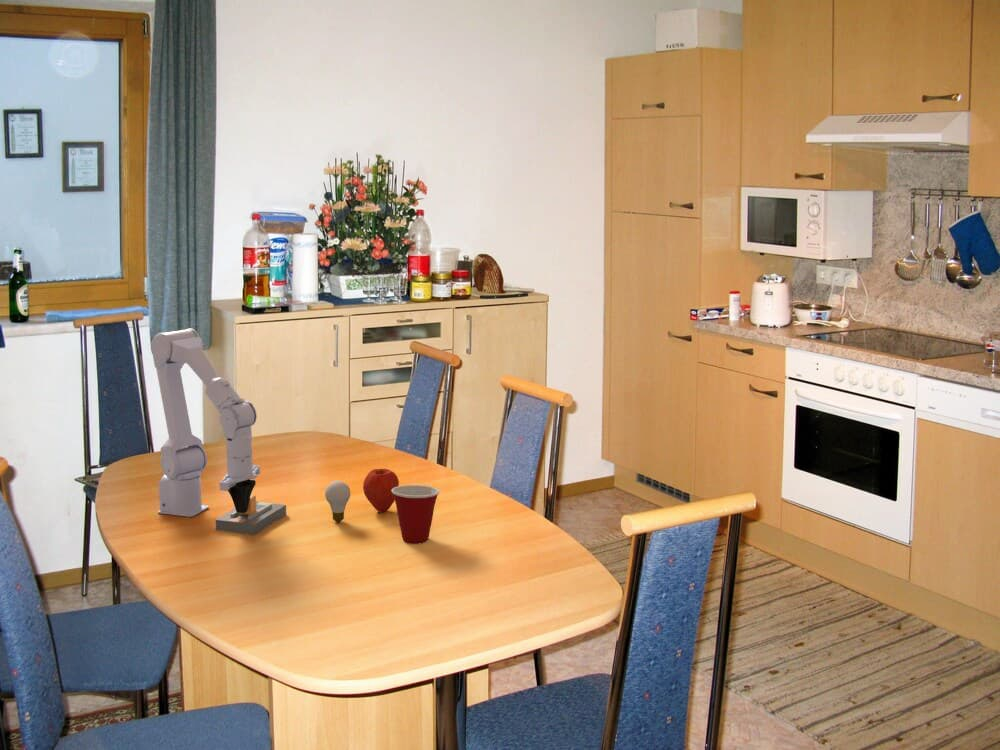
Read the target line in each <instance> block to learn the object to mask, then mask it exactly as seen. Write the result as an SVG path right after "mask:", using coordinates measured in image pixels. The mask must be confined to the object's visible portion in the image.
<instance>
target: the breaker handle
mask: <svg viewBox="0 0 1000 750" xmlns="http://www.w3.org/2000/svg"><path fill="white" fill-rule="evenodd" d="M256 497H257V496H256V495H255V494H251V496H250V499H249V504H248V509H247V512H245V513H240V514H248V515H251V514H252V513H254V512H256V501H257V498H256Z"/></svg>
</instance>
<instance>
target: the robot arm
mask: <svg viewBox="0 0 1000 750" xmlns="http://www.w3.org/2000/svg"><path fill="white" fill-rule="evenodd" d="M203 346H204V345H203V339H202V338H201V337H200V335H199V333H198V332H197V330H196V329H194V328H186V329H181V330H175V331H169V332H168V331H167V332H158V333H156V334H155V336H153V339H152V340H151V342H150V347H151V354H152V358H153V359H152V360H153V364H154V368H155V369H156V374H157V379H158V384H159V391H160V396H161V402H162V408H163V412H164V419H165V423H166V428H167V434H168V439H167V440H166V441H165V442H164V444H162V446H161V447H160V452H161V453H160V454H161V455H160V456H161V457H160V468H161V471H162V472H163V475H162V476H161V478H160V480H159V482H158V483H159V484H158V498H159V501H158V502H159V510H158V511H157V513H158V514H165V515H172V516H181V517H188V518H193V517H195V516H197V515H198V514H199V513H202V512H204V511H205V510H207V509H209V508H210V506H209V505H206V504H202V500H203V499H202V481H201V475H203V473H204V472H203V471H204V470H205V469H206V468H207V465H208V454H207V452H206V451H205V449H204V447H203V442H202V441H203V440H202V439H200V438H199V437H198V436H195V435H194V434H192V428H191V423H190V422H191V421H190V415H189V411H188V406H187V401H186V395H185V390H184V389H185V388H184V384H183V379H182V378H183V377H182V373H181V370H182V368H183V367H184V365H185V364H187V365H188V366H189V368H190V369H191V370H192V371H193V372H194V373H195V375H196V376H197V378H199V379H200V380H201V382H202V383H203V384H204V385H205V391H204V392H205V395H206V397H208V399H209V400H210V401H211V403H212V405H213V406H214V407H215V409H216V410H217V411H218V413H219V414H220V415H219V423H220V425H221V427H222V430H223V431H222V432H223V435H224V437H225V442H226V443H225V444H226V445H225V447H226V449H225V450H226V472H227V473H226V474H225V475H224V477H223V479H222V480H221V481H219V491H223V492H225V491H226V492H227V493H228V494H229V495H230V497H231V499H232V502H233V505H234V509H236V512H238V513H245V512H247V509H248V504H249V499H250V496H251V495H252V492H253V490H254V487H255V486H256V484H257V483H256V480H255V479H256V478H258V475H260V474H261V466H260V465H255V464H253V439H252V438H253V437H252V434H253V433H252V426H254V425H255V424H256V421H257V417H258V416H257V411H256V408H255V406H254V405H253V403H252V402H250V401H248V400H246V399H244V398H241V397H240V395H239V394H238V393H237V391H235V388H234V387H233V386H232V384H231V382H229V380H228V379H227V378H224V377H219V375H218V373H217V372H216V370H215V368H214V367H213V365H212V364H211V362H210V360H209V358H208V357H207V355H206V354H205V352H204V350H203Z"/></svg>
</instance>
